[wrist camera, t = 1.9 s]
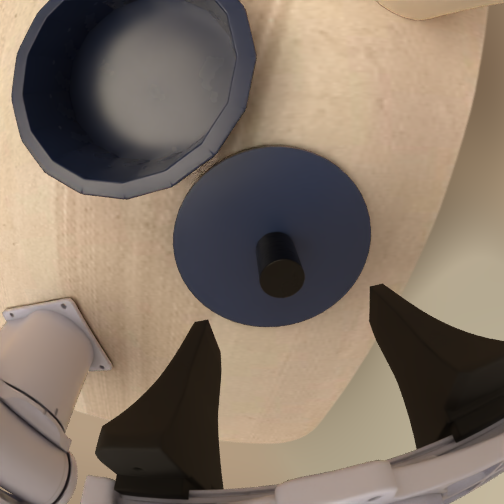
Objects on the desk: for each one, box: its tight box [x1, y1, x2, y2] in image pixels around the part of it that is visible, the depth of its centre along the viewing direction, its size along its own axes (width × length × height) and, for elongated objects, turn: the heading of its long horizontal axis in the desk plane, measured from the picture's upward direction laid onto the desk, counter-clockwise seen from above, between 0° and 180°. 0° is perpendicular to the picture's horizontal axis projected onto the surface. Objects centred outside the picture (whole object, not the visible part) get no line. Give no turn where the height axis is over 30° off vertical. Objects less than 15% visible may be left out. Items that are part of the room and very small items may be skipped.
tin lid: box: [173, 146, 371, 327], centre depth 19 cm, size 13×13×5 cm
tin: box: [11, 0, 257, 200], centre depth 13 cm, size 12×12×5 cm
